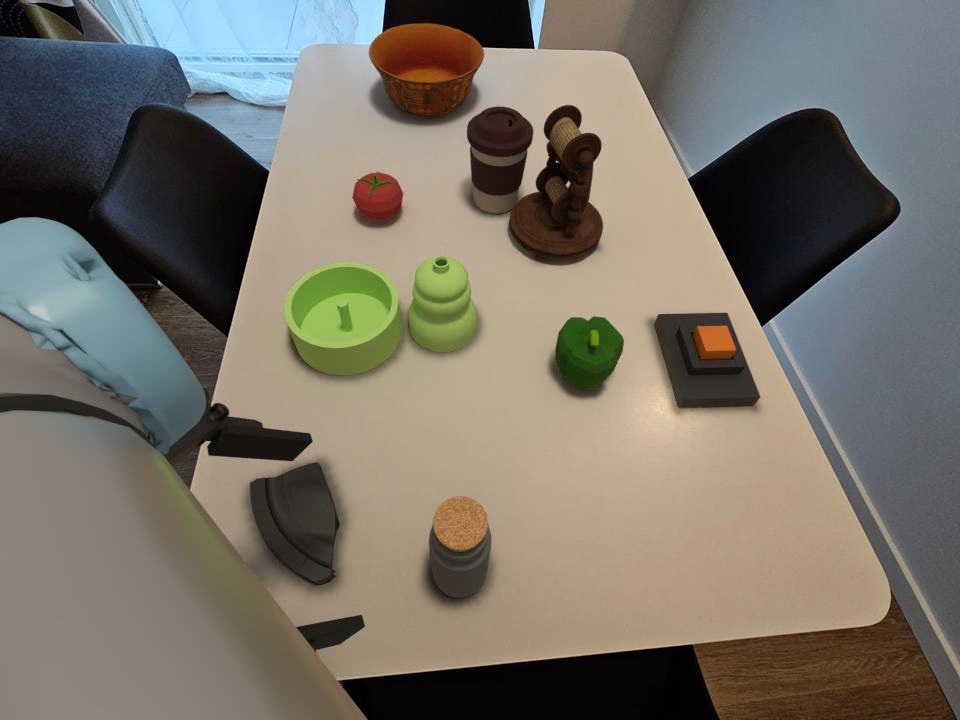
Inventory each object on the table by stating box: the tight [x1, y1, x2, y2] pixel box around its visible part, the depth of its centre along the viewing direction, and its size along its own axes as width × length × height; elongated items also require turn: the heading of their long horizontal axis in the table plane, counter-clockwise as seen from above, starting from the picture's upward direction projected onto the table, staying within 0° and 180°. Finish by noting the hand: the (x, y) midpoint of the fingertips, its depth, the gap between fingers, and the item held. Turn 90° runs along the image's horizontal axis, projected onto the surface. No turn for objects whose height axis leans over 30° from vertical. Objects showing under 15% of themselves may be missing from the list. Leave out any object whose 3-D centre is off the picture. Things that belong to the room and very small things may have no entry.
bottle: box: [428, 495, 492, 599], centre depth 55 cm, size 6×6×15 cm
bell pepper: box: [554, 315, 625, 391], centre depth 72 cm, size 8×8×10 cm
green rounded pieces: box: [283, 254, 478, 377], centre depth 74 cm, size 25×14×13 cm, turn 97°
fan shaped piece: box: [249, 461, 340, 585], centre depth 62 cm, size 8×14×2 cm, turn 23°
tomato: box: [352, 170, 404, 222], centre depth 90 cm, size 8×8×8 cm
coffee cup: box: [466, 105, 534, 215], centre depth 90 cm, size 10×10×15 cm
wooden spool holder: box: [508, 104, 604, 260], centre depth 83 cm, size 15×15×20 cm
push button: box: [654, 312, 761, 409], centre depth 76 cm, size 14×10×4 cm
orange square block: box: [692, 326, 736, 360], centre depth 74 cm, size 4×4×2 cm
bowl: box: [368, 22, 485, 116], centre depth 108 cm, size 21×21×10 cm
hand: (324, 530), depth 39 cm, fingers open, 13 cm apart
